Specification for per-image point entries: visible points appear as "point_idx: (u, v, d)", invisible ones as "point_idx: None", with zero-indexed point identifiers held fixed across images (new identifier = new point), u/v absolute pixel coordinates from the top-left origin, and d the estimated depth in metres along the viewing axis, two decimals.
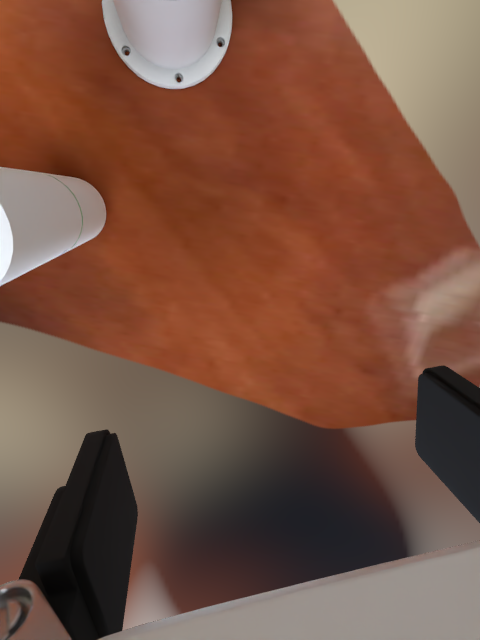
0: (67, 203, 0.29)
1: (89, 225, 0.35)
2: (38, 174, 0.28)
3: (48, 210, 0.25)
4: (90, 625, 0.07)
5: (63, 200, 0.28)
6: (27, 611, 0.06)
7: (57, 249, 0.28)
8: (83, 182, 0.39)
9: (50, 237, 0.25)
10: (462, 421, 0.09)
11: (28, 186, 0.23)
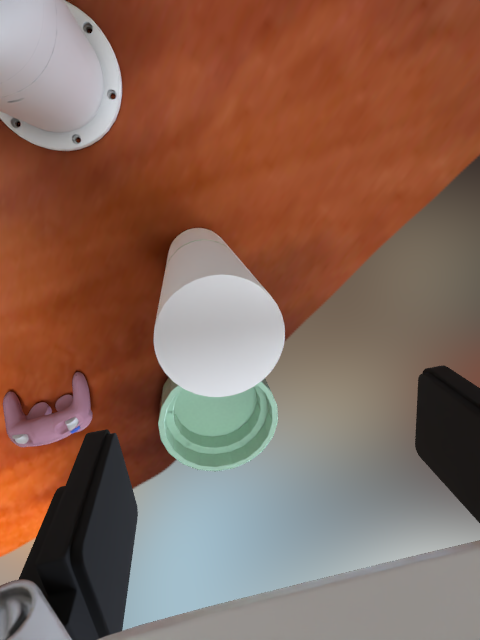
0: (207, 244, 0.29)
1: (224, 243, 0.35)
2: (174, 257, 0.29)
3: (217, 254, 0.25)
4: (90, 626, 0.07)
5: (205, 246, 0.28)
6: (27, 611, 0.06)
7: None
8: (180, 236, 0.40)
9: (242, 264, 0.25)
10: (462, 421, 0.09)
11: (193, 260, 0.24)
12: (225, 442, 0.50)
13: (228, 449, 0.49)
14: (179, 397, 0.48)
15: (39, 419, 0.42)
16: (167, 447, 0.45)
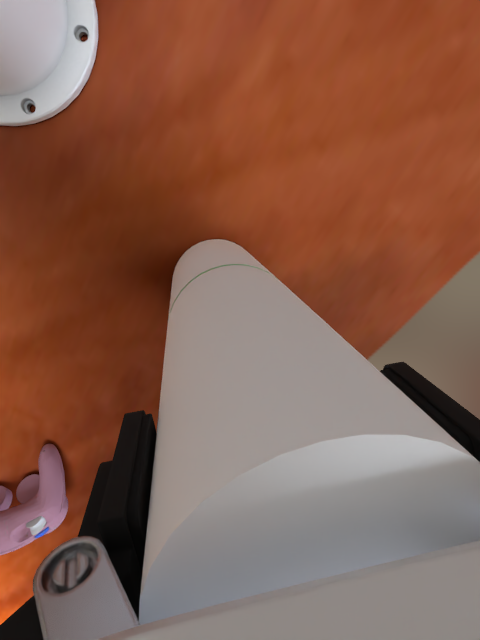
0: (246, 277, 0.16)
1: (263, 266, 0.22)
2: (185, 301, 0.16)
3: (280, 310, 0.12)
4: None
5: (243, 281, 0.15)
6: (92, 562, 0.07)
7: None
8: (190, 252, 0.27)
9: (333, 331, 0.12)
10: None
11: (232, 327, 0.11)
12: None
13: None
14: None
15: None
16: None
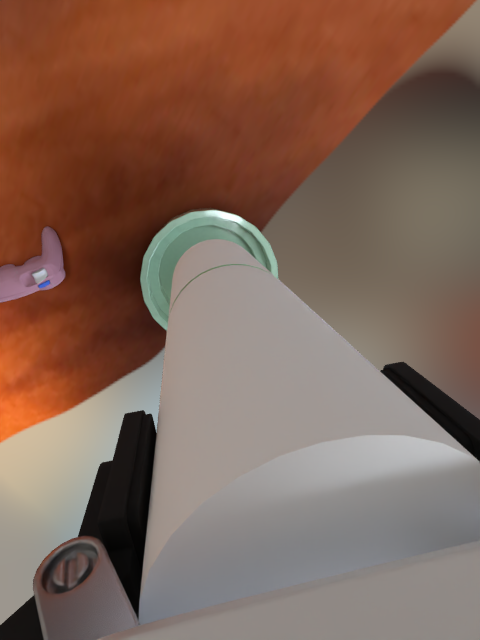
0: (246, 277, 0.16)
1: (263, 266, 0.22)
2: (185, 301, 0.16)
3: (280, 310, 0.12)
4: None
5: (243, 281, 0.15)
6: (92, 562, 0.07)
7: None
8: (190, 252, 0.27)
9: (334, 331, 0.12)
10: None
11: (232, 327, 0.11)
12: None
13: None
14: (166, 265, 0.42)
15: (2, 269, 0.36)
16: (151, 311, 0.39)
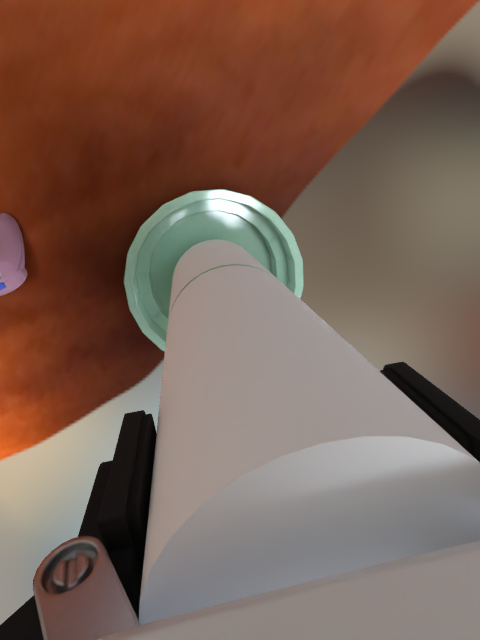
0: (246, 277, 0.16)
1: (263, 266, 0.22)
2: (186, 301, 0.16)
3: (281, 311, 0.12)
4: None
5: (243, 282, 0.15)
6: (93, 563, 0.07)
7: None
8: (190, 252, 0.27)
9: (334, 331, 0.12)
10: None
11: (232, 328, 0.11)
12: None
13: None
14: (159, 263, 0.33)
15: None
16: (139, 322, 0.30)
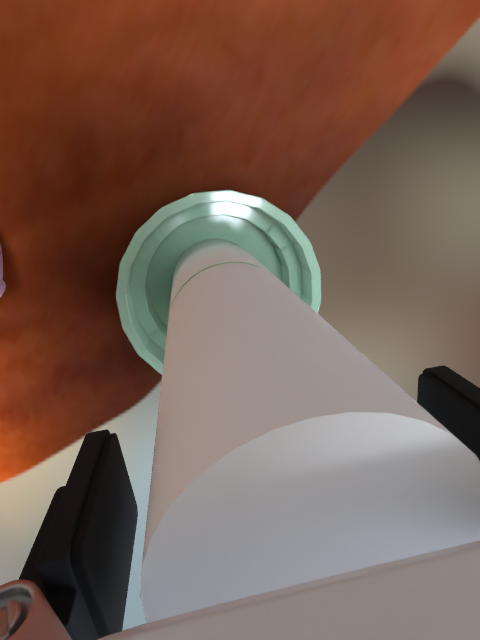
0: (245, 274, 0.16)
1: None
2: (186, 297, 0.17)
3: (277, 304, 0.12)
4: (90, 625, 0.07)
5: (242, 278, 0.16)
6: (27, 611, 0.06)
7: None
8: (190, 251, 0.27)
9: (328, 324, 0.12)
10: (462, 421, 0.09)
11: (230, 319, 0.11)
12: None
13: None
14: (157, 274, 0.30)
15: None
16: (134, 343, 0.26)
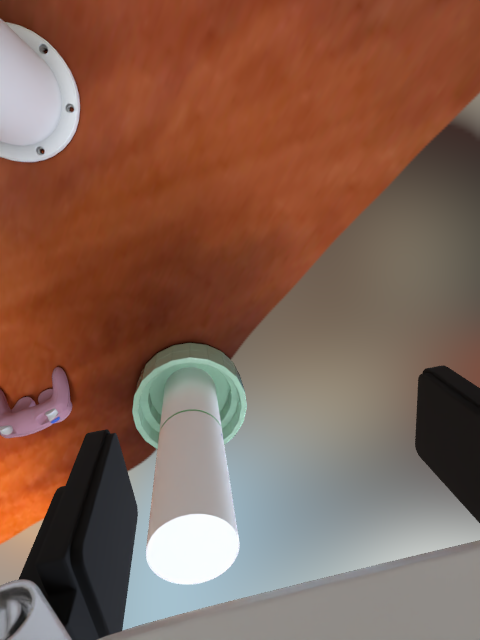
0: (190, 426, 0.38)
1: (207, 400, 0.44)
2: (165, 436, 0.38)
3: (194, 457, 0.33)
4: (90, 626, 0.07)
5: (187, 431, 0.37)
6: (27, 611, 0.06)
7: (220, 451, 0.36)
8: (172, 380, 0.49)
9: (212, 463, 0.33)
10: (462, 421, 0.09)
11: (175, 466, 0.32)
12: None
13: None
14: (155, 388, 0.51)
15: (21, 411, 0.45)
16: (142, 434, 0.48)
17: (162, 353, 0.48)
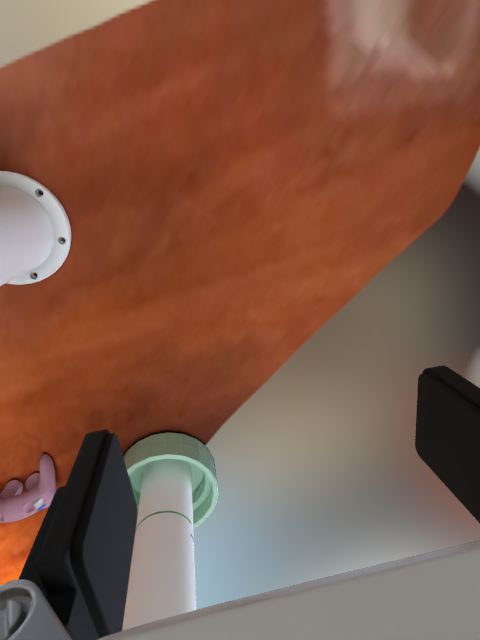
0: (162, 533, 0.42)
1: (180, 496, 0.48)
2: (139, 541, 0.42)
3: (163, 572, 0.38)
4: (90, 626, 0.07)
5: (160, 539, 0.41)
6: (27, 611, 0.06)
7: (188, 560, 0.41)
8: (151, 468, 0.53)
9: (179, 579, 0.38)
10: (462, 421, 0.09)
11: (146, 584, 0.37)
12: None
13: None
14: (135, 471, 0.55)
15: (9, 500, 0.49)
16: None
17: (142, 443, 0.53)
